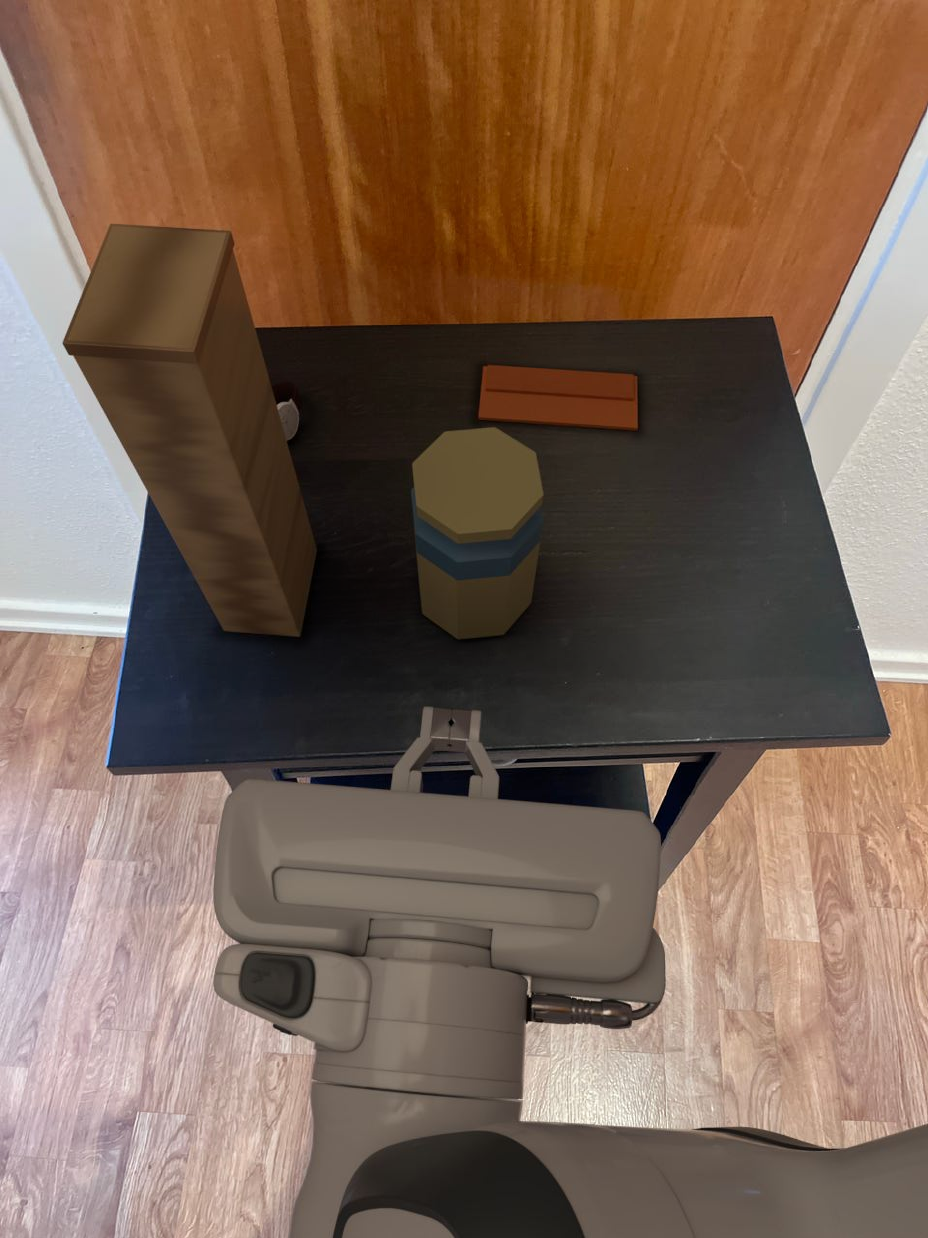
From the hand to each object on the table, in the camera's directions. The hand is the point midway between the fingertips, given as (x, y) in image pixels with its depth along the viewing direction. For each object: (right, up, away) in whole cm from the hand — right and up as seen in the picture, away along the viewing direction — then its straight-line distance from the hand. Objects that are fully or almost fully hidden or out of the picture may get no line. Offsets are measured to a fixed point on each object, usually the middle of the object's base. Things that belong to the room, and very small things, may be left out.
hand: (452, 711), depth 43 cm
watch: (-16, +21, +32) cm, 42 cm away
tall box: (-15, +7, +25) cm, 30 cm away
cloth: (+9, +24, +34) cm, 43 cm away
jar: (+1, +7, +25) cm, 26 cm away
